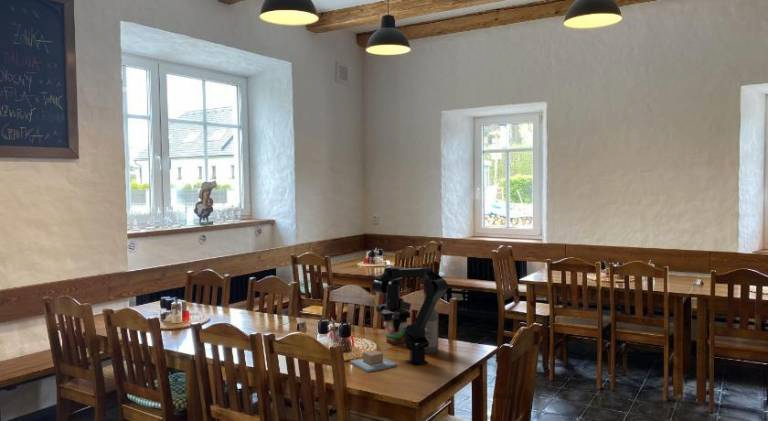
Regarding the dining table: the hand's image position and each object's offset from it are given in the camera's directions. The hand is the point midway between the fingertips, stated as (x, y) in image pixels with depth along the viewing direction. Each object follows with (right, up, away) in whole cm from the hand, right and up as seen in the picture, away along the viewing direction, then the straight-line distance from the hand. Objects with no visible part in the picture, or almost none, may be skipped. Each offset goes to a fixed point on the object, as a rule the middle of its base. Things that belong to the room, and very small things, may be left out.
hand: (392, 330), depth 263 cm
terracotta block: (0, -1, 0) cm, 1 cm away
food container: (+1, -10, +20) cm, 22 cm away
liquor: (+15, -11, +8) cm, 21 cm away
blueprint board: (-9, -12, -12) cm, 19 cm away
